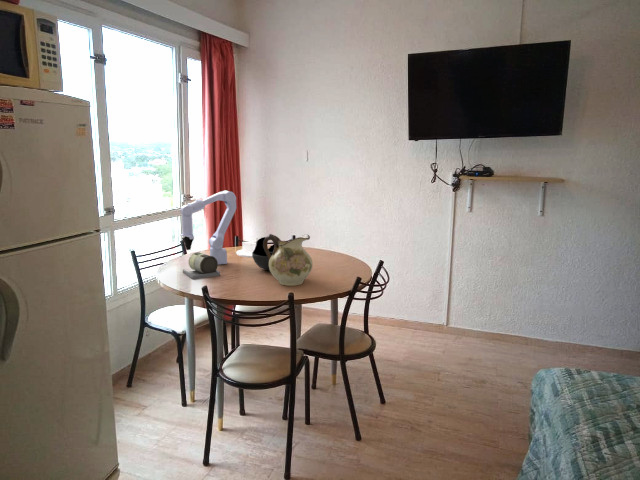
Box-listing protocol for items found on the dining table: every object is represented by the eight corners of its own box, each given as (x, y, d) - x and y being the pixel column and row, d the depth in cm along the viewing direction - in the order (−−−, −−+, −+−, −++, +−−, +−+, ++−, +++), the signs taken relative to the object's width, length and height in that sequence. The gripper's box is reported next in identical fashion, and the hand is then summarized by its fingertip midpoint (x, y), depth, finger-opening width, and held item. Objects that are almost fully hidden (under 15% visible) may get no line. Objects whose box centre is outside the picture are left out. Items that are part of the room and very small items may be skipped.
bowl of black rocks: (251, 266, 267) (250, 234, 263) (285, 264, 271) (285, 233, 267) (253, 275, 248) (253, 241, 244) (290, 273, 252) (290, 240, 248)
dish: (279, 250, 311) (279, 234, 309) (266, 259, 287) (266, 241, 285) (245, 248, 316) (244, 232, 314) (230, 256, 292) (229, 239, 290)
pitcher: (317, 286, 227) (317, 237, 223) (270, 290, 220) (270, 239, 216) (306, 275, 248) (306, 230, 244) (263, 278, 242) (262, 232, 237)
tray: (209, 269, 259) (208, 265, 259) (220, 275, 246) (219, 272, 246) (182, 272, 251) (182, 269, 251) (192, 279, 238) (192, 276, 238)
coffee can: (199, 248, 256) (212, 252, 246) (207, 263, 261) (220, 267, 250) (184, 258, 250) (197, 263, 240) (193, 273, 255) (206, 278, 245)
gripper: (176, 225, 264) (177, 248, 266) (184, 228, 252) (185, 252, 255) (188, 224, 268) (189, 246, 270) (197, 227, 256) (198, 251, 259)
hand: (188, 249), depth 263 cm, fingers closed
